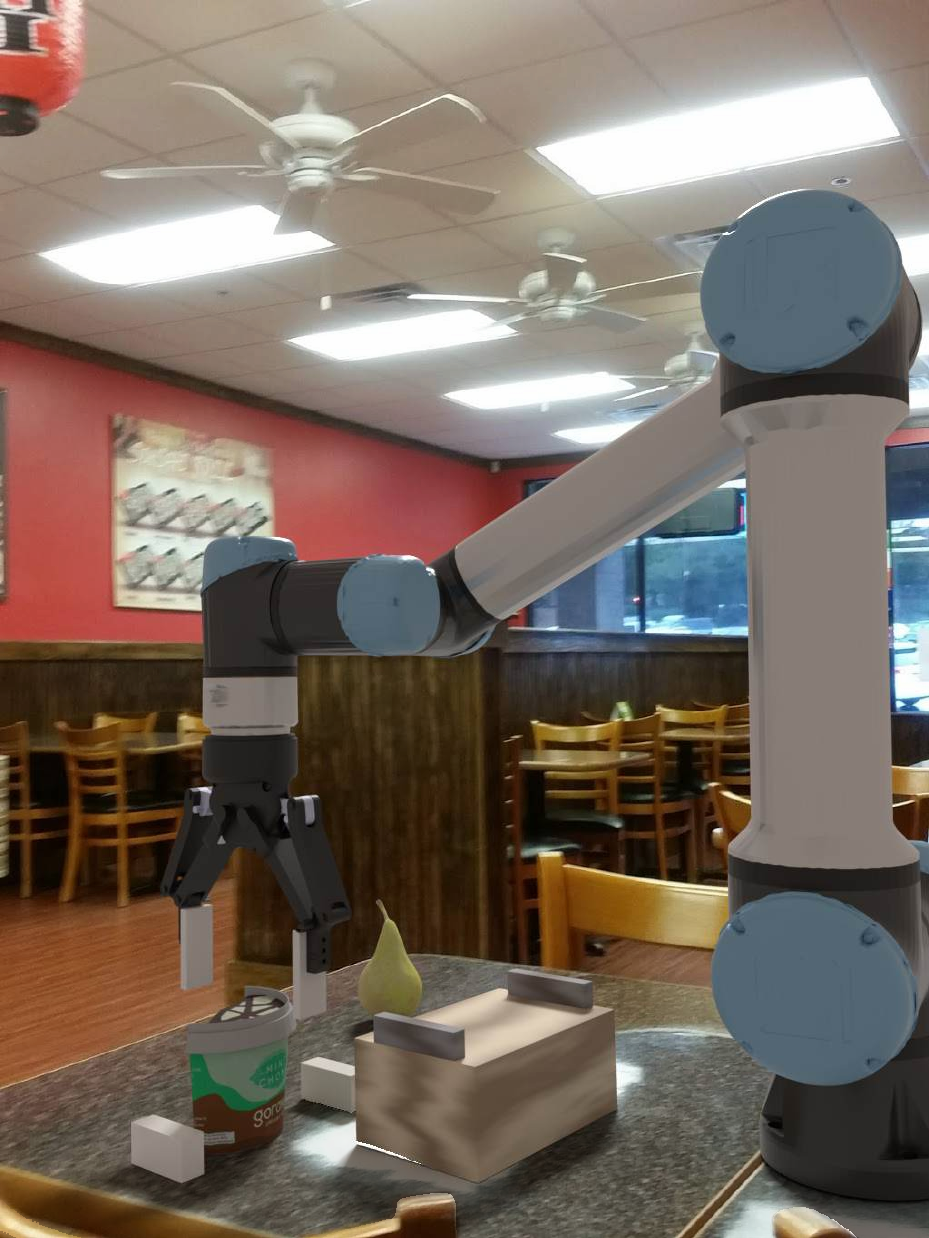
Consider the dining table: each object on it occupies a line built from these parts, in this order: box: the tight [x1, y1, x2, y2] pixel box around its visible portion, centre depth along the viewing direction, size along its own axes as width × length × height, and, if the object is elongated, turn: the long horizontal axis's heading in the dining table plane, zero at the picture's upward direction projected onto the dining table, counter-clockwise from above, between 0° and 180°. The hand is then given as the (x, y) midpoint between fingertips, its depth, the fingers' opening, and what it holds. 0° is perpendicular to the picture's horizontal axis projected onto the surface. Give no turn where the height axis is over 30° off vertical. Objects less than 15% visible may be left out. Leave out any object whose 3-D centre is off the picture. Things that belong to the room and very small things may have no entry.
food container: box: [185, 985, 298, 1156], centre depth 95 cm, size 12×6×10 cm, turn 168°
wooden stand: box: [353, 968, 618, 1184], centre depth 96 cm, size 12×18×10 cm, turn 140°
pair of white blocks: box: [130, 1056, 356, 1184], centre depth 95 cm, size 6×19×3 cm, turn 140°
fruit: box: [357, 899, 423, 1018], centre depth 126 cm, size 7×8×12 cm
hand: (250, 1000), depth 96 cm, fingers open, 13 cm apart
